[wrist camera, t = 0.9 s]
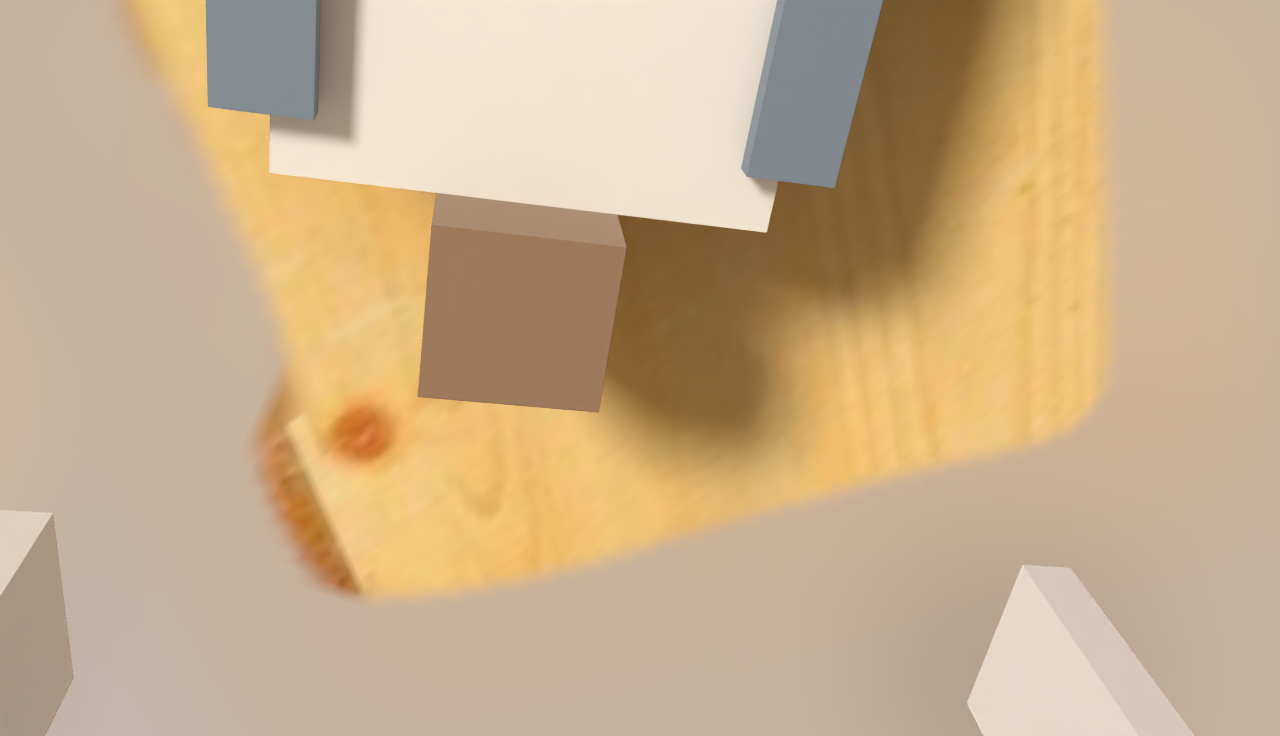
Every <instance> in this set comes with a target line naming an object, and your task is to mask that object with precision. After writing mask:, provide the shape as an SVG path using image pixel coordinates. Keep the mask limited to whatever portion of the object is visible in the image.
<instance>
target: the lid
mask: <svg viewBox="0 0 1280 736" xmlns="http://www.w3.org/2000/svg"><path fill="white" fill-rule="evenodd" d="M776 3H777V0H321V22H320V59H319V97H318V114H317V115H316V117H315V119H314V120H306V119H298V118H290V117H283V116H275V115H270V173H276V174H284V175H293V176H301V177H309V178H318V179H326V180H334V181H342V182H351V183H359V184H367V185H376V186H384V187H392V188H401V189H409V190H417V191H426V192H434V193H437V196H436V202H435V208H434V214H433V219H432V226H431V238H430V251H429V264H428V276H427V289H426V301H425V314H424V326H423V339H422V351H421V364H420V376H419V389H418V397H423V398H435V399H447V400H458V401H470V402H482V403H493V404H505V405H517V406H528V407H540V408H552V409H563V410H575V411H587V412H598V413H599V407H600V401H601V395H602V389H603V384H604V378H605V372H606V366H607V360H608V354H609V348H610V342H611V337H612V331H613V325H614V319H615V313H616V307H617V301H618V296H619V290H620V284H621V278H622V272H623V266H624V260H625V254H626V249H627V246H626V243H625V239H624V236H623V232H622V229H621V225H620V222H619V218H618V215H625V216H633V217H642V218H650V219H658V220H666V221H675V222H683V223H691V224H700V225H708V226H716V227H725V228H733V229H741V230H750V231H758V232H766V233H767V229H768V224H769V220H770V216H771V211H772V207H773V203H774V199H775V194H776V190H777V186H778V181H776V180H768V179H760V178H753V177H746V175H745V174H744V172H743V171H742V169H741V166H742V161H743V157H744V152H745V147H746V143H747V138H748V133H749V129H750V124H751V119H752V115H753V110H754V106H755V101H756V96H757V92H758V87H759V82H760V78H761V73H762V68H763V64H764V59H765V54H766V50H767V45H768V40H769V36H770V31H771V27H772V22H773V17H774V13H775V8H776Z"/></svg>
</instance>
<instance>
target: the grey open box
mask: <svg viewBox="0 0 1280 736" xmlns="http://www.w3.org/2000/svg"><path fill="white" fill-rule="evenodd" d="M882 3H883V0H777V3H776V8H775V13H774V17H773V22H772V27H771V31H770V36H769V40H768V45H767V50H766V54H765V59H764V64H763V68H762V73H761V78H760V82H759V87H758V92H757V96H756V101H755V106H754V110H753V115H752V119H751V124H750V129H749V133H748V138H747V143H746V147H745V152H744V157H743V161H742V166H741V169H742V171H743V172H744V174H745V175H746V177H753V178H760V179H768V180H776V181H783V182H791V183H799V184H806V185H814V186H822V187H830V188H835V184H836V181H837V177H838V173H839V169H840V165H841V161H842V157H843V154H844V150H845V146H846V142H847V138H848V134H849V130H850V127H851V123H852V119H853V115H854V111H855V107H856V103H857V100H858V96H859V92H860V88H861V84H862V80H863V76H864V73H865V69H866V65H867V61H868V57H869V53H870V49H871V46H872V42H873V38H874V34H875V30H876V26H877V22H878V19H879V15H880V11H881V7H882ZM320 22H321V0H206V35H207V83H208V107H213V108H221V109H229V110H237V111H244V112H252V113H260V114H267V115H275V116H283V117H290V118H298V119H306V120H314V119H315V117H316V115H317V114H318V97H319V59H320Z"/></svg>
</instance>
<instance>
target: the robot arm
mask: <svg viewBox="0 0 1280 736" xmlns="http://www.w3.org/2000/svg"><path fill="white" fill-rule="evenodd" d="M72 680H73V670H72V661H71V653H70V645H69V637H68V629H67V621H66V614H65V605H64V597H63V589H62V581H61V573H60V565H59V557H58V550H57V542H56V533H55V525H54V517H53V513H42V512H24V511H23V512H22V511H5V510H0V736H45V735H46V733H47V731H48V729H49V727H50V725H51V723H52V721H53V719H54V717H55V715H56V713H57V711H58V709H59V707H60V705H61V703H62V700H63V698H64V696H65V694H66V692H67V690H68V688H69V686H70V684H71V682H72ZM967 705H968V707H969V708H970V711H971V712H972V714H973V716H974V718H975V720H976V722H977V724H978V726H979V728H980V730H981V732H982V734H983V736H1195V735H1194V734H1193V733H1192V731H1191V730H1190V729H1189V727H1188V726H1187V725H1186V723H1185V722H1184V721H1183V720H1182V718H1181V716H1180V715H1179V714H1178V713H1177V711H1176V710H1175V709H1174V707H1173V706H1172V704H1171V703H1170V702H1169V700H1168V699H1167V698H1166V696H1165V695H1164V694H1163V692H1162V691H1161V689H1160V688H1159V687H1158V685H1157V684H1156V683H1155V682H1154V680H1153V679H1152V677H1151V676H1150V675H1149V673H1148V672H1147V671H1146V669H1145V668H1144V667H1143V665H1142V664H1141V663H1140V661H1139V660H1138V658H1137V657H1136V656H1135V654H1134V653H1133V652H1132V650H1131V649H1130V648H1129V646H1128V645H1127V644H1126V642H1125V641H1124V640H1123V638H1122V637H1121V635H1120V634H1119V633H1118V632H1117V630H1116V629H1115V627H1114V626H1113V625H1112V623H1111V622H1110V621H1109V619H1108V618H1107V617H1106V615H1105V614H1104V613H1103V611H1102V610H1101V608H1100V607H1099V606H1098V604H1097V603H1096V602H1095V600H1094V599H1093V598H1092V596H1091V595H1090V594H1089V592H1088V591H1087V590H1086V588H1085V587H1084V586H1083V585H1082V583H1081V582H1080V580H1079V579H1078V578H1077V576H1076V575H1075V573H1074V572H1073V571H1072V570H1071V568H1067V567H1048V566H1028V565H1022V568H1021V570H1020V572H1019V575H1018V577H1017V580H1016V582H1015V585H1014V587H1013V590H1012V593H1011V595H1010V597H1009V600H1008V602H1007V605H1006V607H1005V610H1004V612H1003V615H1002V617H1001V620H1000V622H999V625H998V627H997V630H996V632H995V635H994V637H993V640H992V642H991V645H990V647H989V650H988V652H987V655H986V657H985V660H984V662H983V665H982V667H981V670H980V672H979V674H978V677H977V680H976V682H975V685H974V687H973V690H972V692H971V694H970V697H969V700H968V702H967Z"/></svg>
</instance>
